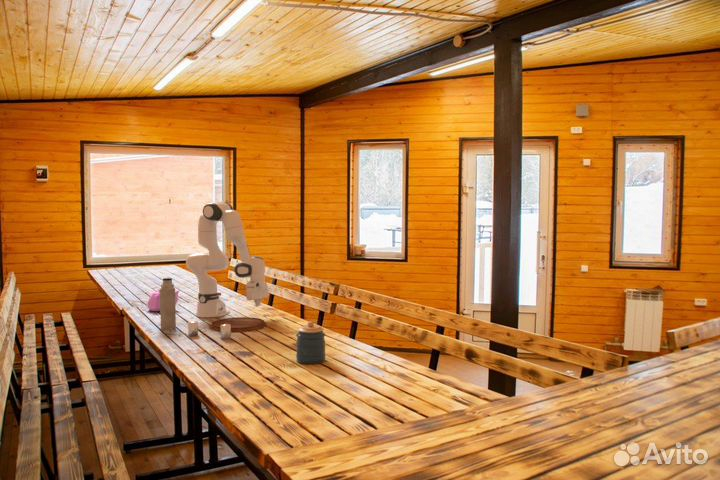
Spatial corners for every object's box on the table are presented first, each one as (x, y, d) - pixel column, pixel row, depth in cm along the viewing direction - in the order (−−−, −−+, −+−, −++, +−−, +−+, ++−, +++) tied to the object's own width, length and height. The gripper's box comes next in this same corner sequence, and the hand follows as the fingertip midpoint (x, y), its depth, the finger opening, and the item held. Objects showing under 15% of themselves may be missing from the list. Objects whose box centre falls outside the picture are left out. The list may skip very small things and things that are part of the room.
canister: (310, 355, 256) (310, 317, 255) (331, 360, 248) (331, 320, 247) (290, 361, 246) (289, 321, 245) (311, 366, 238) (311, 325, 237)
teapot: (175, 313, 356) (174, 291, 355) (141, 313, 356) (141, 291, 355) (186, 307, 377) (186, 286, 377) (154, 307, 378) (154, 286, 377)
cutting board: (253, 334, 299) (253, 329, 299) (198, 331, 306) (198, 327, 305) (274, 322, 330) (274, 318, 330) (224, 320, 337) (224, 315, 337)
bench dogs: (192, 333, 298) (192, 320, 298) (232, 337, 290) (232, 324, 289) (186, 335, 294) (186, 322, 293) (227, 339, 285) (227, 326, 285)
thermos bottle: (164, 326, 317) (163, 277, 315) (178, 326, 316) (177, 277, 314) (158, 329, 309) (157, 279, 307) (172, 329, 308) (171, 279, 307)
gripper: (262, 281, 347) (262, 304, 347) (244, 284, 328) (244, 307, 328) (271, 282, 345) (271, 304, 345) (253, 284, 326) (253, 308, 326)
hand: (257, 306), depth 337 cm, fingers closed
